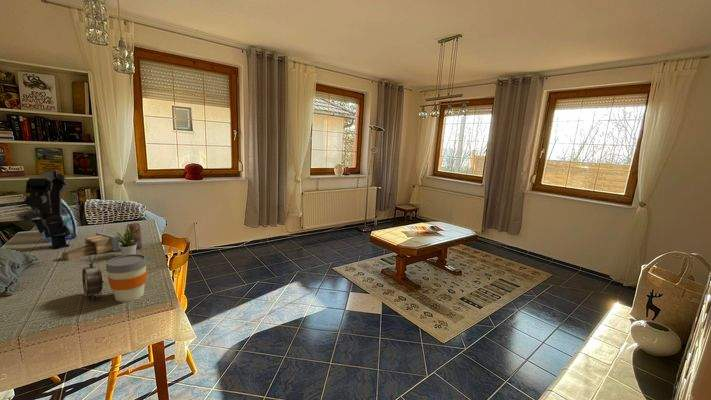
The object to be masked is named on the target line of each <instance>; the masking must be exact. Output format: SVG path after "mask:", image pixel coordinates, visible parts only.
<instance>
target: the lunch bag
mask: <svg viewBox="0 0 711 400" xmlns="http://www.w3.org/2000/svg"><path fill="white" fill-rule="evenodd" d="M49 195H50V192H49ZM61 200H62V218H63V221H64V222H65V223H66V225H67V227H68V228H69V231H70V235H68V236H66V239H75V238H77V236H78V232H79V231H78V223H77V220H76V218H75V217H76V216H75V215H74V213H73V211H72V209H71V208H70V206H68V204H67V202H66V201H65V200H64V199H63V198H62V197H61ZM41 234H42V236H43V238H44V240H45V241H46V242H47V243H50V242H51V237H49V238H46V236H45V233H44V231H43V233H41Z"/></svg>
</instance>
